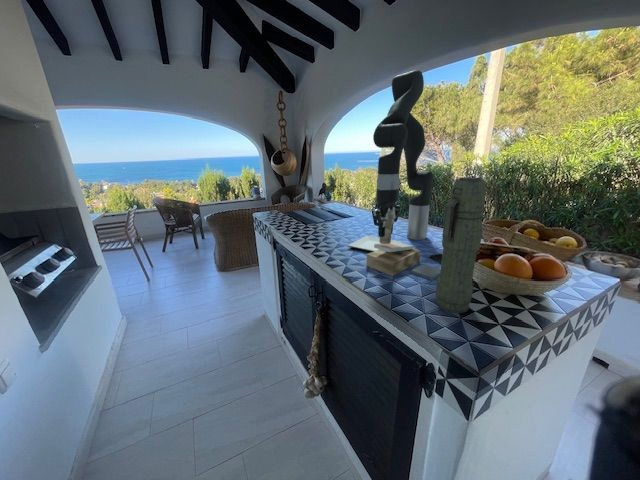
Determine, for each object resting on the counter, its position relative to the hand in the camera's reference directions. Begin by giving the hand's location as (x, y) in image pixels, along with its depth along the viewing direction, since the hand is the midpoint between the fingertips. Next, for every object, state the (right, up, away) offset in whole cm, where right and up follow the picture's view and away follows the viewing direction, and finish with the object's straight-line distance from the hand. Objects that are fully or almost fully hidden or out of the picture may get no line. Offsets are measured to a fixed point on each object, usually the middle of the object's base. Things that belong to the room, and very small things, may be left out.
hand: (385, 235), depth 93 cm
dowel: (0, -3, +1) cm, 3 cm away
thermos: (+14, -20, -20) cm, 32 cm away
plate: (+2, -5, +28) cm, 28 cm away
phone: (+27, -11, +8) cm, 30 cm away
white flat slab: (+5, -4, +5) cm, 9 cm away
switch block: (+5, -11, +8) cm, 15 cm away
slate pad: (+15, -14, -1) cm, 20 cm away
